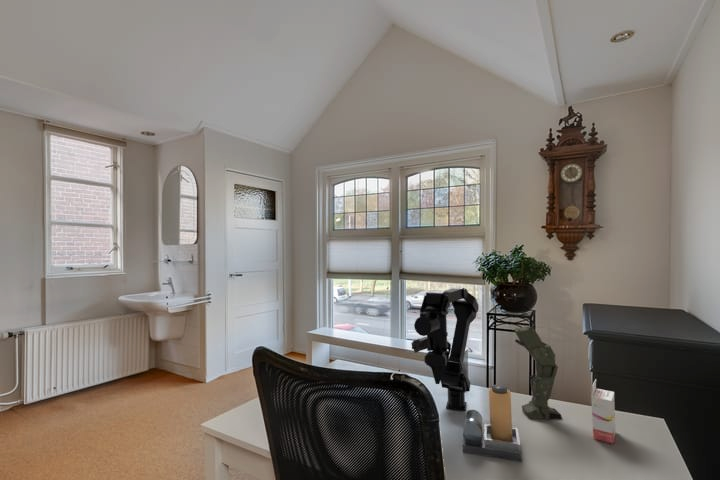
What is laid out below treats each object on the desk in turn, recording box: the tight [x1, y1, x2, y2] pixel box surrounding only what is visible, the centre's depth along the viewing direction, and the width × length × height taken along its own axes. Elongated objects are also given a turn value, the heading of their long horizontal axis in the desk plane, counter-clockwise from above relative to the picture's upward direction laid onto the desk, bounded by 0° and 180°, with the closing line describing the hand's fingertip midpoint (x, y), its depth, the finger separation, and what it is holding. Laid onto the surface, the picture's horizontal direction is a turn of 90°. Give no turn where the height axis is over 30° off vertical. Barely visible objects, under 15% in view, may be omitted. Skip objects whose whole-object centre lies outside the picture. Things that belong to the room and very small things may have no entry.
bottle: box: [488, 384, 513, 442], centre depth 97 cm, size 6×6×14 cm
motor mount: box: [462, 409, 522, 463], centre depth 98 cm, size 12×14×7 cm
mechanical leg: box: [513, 325, 563, 420], centre depth 116 cm, size 14×7×30 cm, turn 85°
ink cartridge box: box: [591, 378, 617, 444], centre depth 102 cm, size 9×5×15 cm, turn 141°
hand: (439, 378), depth 114 cm, fingers open, 9 cm apart
